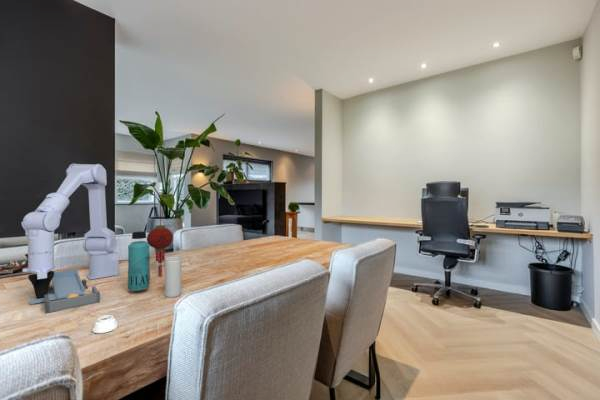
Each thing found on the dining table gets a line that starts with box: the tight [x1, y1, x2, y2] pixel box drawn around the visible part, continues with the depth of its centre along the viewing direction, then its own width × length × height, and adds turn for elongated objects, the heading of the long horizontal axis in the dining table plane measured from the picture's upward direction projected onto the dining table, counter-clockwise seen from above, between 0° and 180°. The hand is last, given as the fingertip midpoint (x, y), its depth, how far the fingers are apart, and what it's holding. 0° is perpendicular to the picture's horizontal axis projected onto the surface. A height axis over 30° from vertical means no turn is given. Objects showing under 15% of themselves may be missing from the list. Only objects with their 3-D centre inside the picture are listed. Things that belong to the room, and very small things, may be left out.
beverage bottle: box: [127, 231, 151, 292], centre depth 93 cm, size 6×7×20 cm
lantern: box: [146, 200, 174, 278], centre depth 110 cm, size 10×10×30 cm
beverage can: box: [164, 256, 182, 299], centre depth 90 cm, size 5×5×12 cm
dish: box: [43, 285, 101, 314], centre depth 83 cm, size 12×9×3 cm
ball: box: [66, 294, 80, 298], centre depth 81 cm, size 3×3×3 cm
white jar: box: [91, 314, 119, 334], centre depth 67 cm, size 5×3×5 cm
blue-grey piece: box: [29, 268, 86, 305], centre depth 91 cm, size 13×18×3 cm
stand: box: [47, 278, 89, 295], centre depth 93 cm, size 10×4×3 cm, turn 134°
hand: (41, 297), depth 83 cm, fingers closed, pressing on blue-grey piece
